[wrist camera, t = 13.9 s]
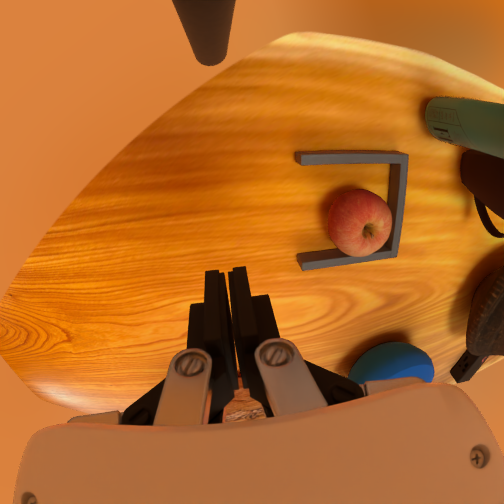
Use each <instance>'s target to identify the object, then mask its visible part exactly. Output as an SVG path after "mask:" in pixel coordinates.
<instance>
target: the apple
mask: <svg viewBox="0 0 504 504" xmlns="http://www.w3.org/2000/svg"><path fill="white" fill-rule="evenodd" d="M391 227H392V214H391V211H390V209H389V207H388V205H387V204H386V202H385V201H384V200H383V199H382V198H381V197H379V196H378V195H376V194H374V193H372V192H370V191H368V190H364V189H355V190H352V191H349V192H346V193H344V194H342V195H340V196H339V197H338V198H337V199H336V200H335V201H334V202H333V204H332V206H331V208H330V211H329V215H328V232H329V236H330V238H331V240H332V241H333V242H334V244H335V245H336V246H337V247H338V248H339V249H340V250H341V251H342V252H344V253H345V254H347V255H350V256H354V257H364V256H368V255H370V254H372V253H374V252H375V251H377V250H378V249H380V248H381V247H382V246H383V245H384V243H385V242H386V241H387V239H388V237H389V235H390V232H391Z"/></svg>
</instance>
